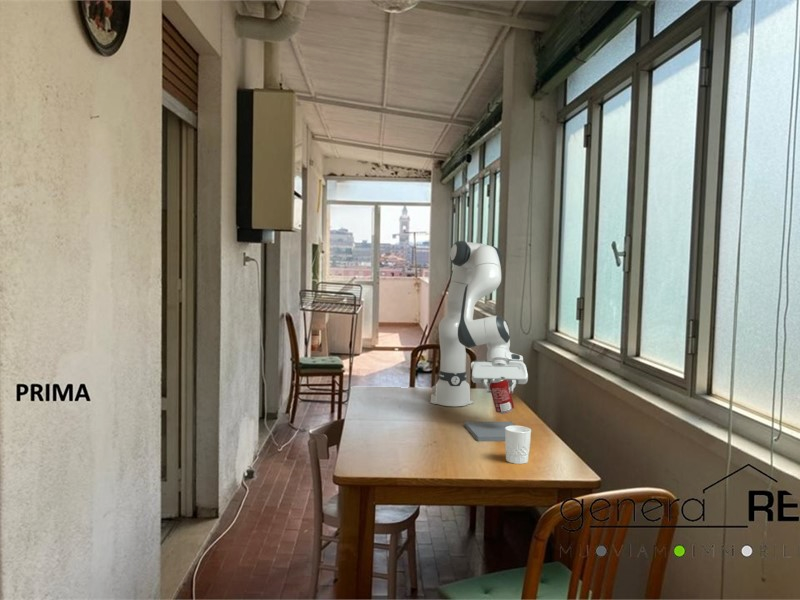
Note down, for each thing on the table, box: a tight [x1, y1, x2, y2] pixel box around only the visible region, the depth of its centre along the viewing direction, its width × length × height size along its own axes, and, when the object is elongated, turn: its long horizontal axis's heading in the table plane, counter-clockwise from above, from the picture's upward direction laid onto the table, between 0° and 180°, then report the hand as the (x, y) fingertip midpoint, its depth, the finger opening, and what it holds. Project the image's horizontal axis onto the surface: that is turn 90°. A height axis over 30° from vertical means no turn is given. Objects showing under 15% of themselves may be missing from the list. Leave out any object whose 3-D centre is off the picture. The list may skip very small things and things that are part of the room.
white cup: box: [504, 425, 532, 465], centre depth 188 cm, size 8×8×10 cm
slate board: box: [464, 421, 517, 442], centre depth 219 cm, size 20×18×2 cm
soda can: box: [489, 377, 515, 414], centre depth 218 cm, size 7×7×12 cm
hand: (500, 392), depth 217 cm, fingers closed on soda can, 6 cm apart
